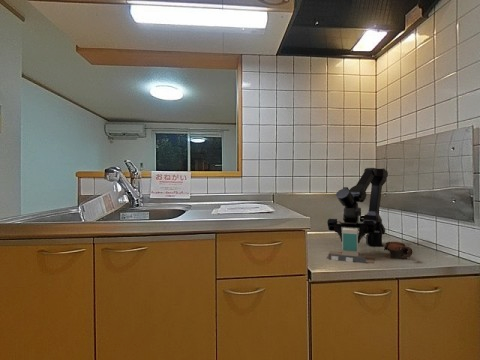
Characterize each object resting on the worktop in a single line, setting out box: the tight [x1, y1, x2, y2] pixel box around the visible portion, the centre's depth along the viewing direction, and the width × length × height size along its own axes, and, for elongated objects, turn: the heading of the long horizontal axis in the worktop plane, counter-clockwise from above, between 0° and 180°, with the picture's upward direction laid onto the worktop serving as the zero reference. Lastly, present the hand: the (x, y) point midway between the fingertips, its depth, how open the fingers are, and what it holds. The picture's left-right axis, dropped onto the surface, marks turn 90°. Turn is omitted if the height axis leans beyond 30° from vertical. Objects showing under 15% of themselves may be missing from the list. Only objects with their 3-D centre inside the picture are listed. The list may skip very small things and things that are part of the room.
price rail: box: [327, 253, 367, 264], centre depth 114 cm, size 1×14×3 cm, turn 65°
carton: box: [341, 227, 359, 257], centre depth 118 cm, size 4×6×11 cm
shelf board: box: [326, 250, 375, 264], centre depth 119 cm, size 12×18×1 cm
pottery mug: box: [383, 241, 414, 260], centre depth 118 cm, size 12×10×8 cm
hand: (349, 242), depth 117 cm, fingers closed on carton, 6 cm apart
